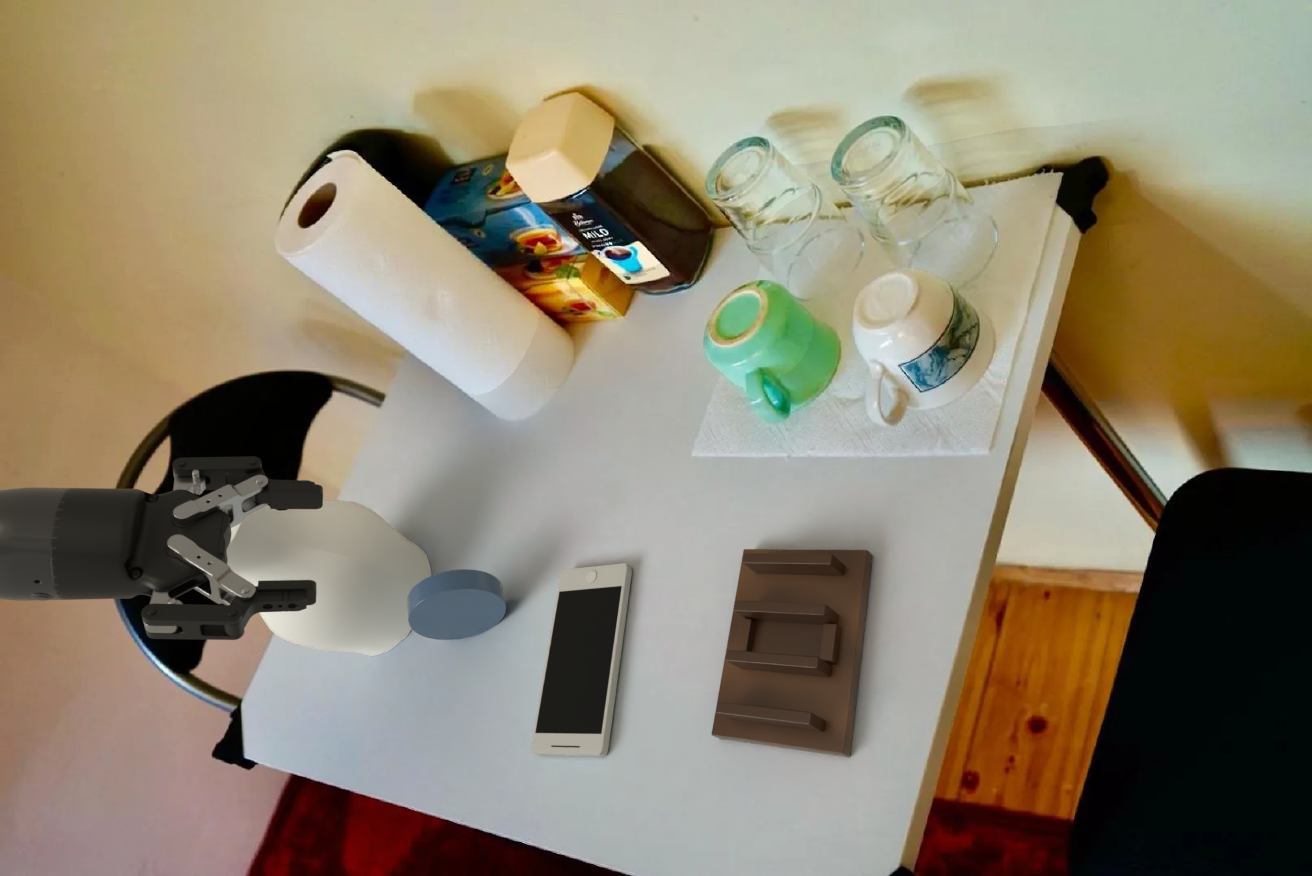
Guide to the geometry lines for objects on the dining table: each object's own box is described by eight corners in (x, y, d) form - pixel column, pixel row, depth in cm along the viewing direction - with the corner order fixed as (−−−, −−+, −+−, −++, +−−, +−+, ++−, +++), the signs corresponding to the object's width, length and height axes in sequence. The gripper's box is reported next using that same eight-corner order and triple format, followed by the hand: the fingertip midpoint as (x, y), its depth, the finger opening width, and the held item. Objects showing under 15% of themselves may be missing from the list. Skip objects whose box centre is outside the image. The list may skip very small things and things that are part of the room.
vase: (453, 525, 91) (290, 438, 76) (419, 666, 84) (233, 599, 70) (360, 538, 98) (195, 461, 84) (322, 669, 92) (136, 609, 77)
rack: (850, 757, 59) (828, 746, 56) (719, 738, 64) (693, 728, 62) (873, 555, 64) (854, 537, 62) (750, 554, 70) (728, 537, 67)
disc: (521, 617, 81) (478, 577, 75) (438, 650, 82) (389, 613, 75) (518, 598, 82) (476, 557, 76) (437, 631, 83) (388, 593, 77)
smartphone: (633, 565, 75) (626, 562, 75) (607, 757, 68) (600, 754, 68) (566, 572, 79) (560, 569, 78) (536, 754, 72) (528, 752, 71)
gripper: (22, 604, 53) (313, 598, 58) (76, 428, 62) (324, 436, 67) (49, 666, 58) (315, 655, 64) (96, 495, 68) (324, 497, 73)
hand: (319, 542), depth 66 cm, fingers open, 8 cm apart
